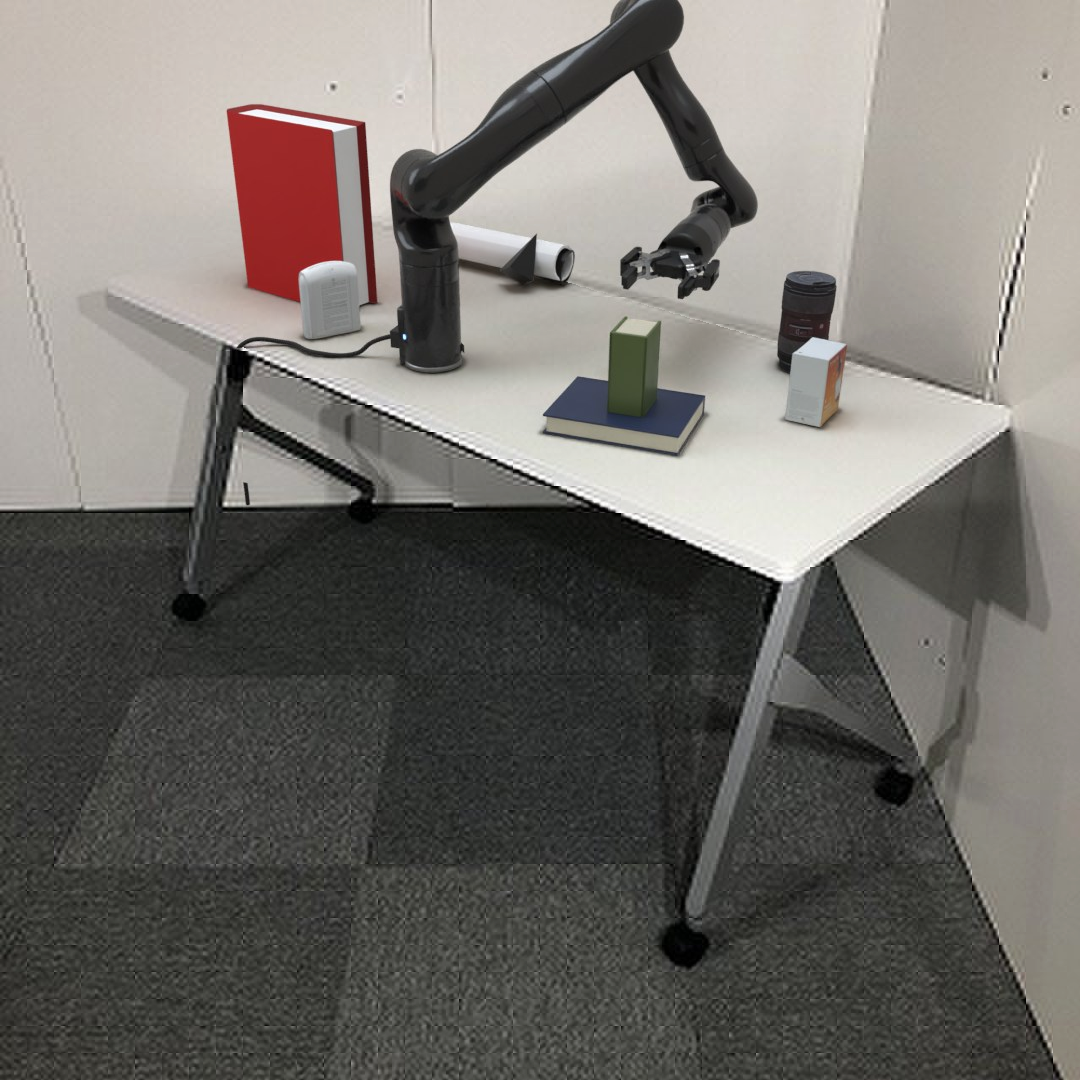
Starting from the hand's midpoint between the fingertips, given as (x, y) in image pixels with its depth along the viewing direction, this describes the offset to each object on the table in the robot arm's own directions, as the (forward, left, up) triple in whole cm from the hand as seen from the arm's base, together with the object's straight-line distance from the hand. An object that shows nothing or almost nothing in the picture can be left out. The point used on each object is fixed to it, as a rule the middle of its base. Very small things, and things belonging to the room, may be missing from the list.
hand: (652, 288), depth 174 cm
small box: (+25, +3, -17) cm, 30 cm away
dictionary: (+1, -10, -14) cm, 18 cm away
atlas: (0, -10, -17) cm, 20 cm away
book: (-72, +23, -17) cm, 78 cm away
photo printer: (-58, +7, -17) cm, 61 cm away
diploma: (-47, +46, -17) cm, 68 cm away
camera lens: (+20, +21, -17) cm, 34 cm away
